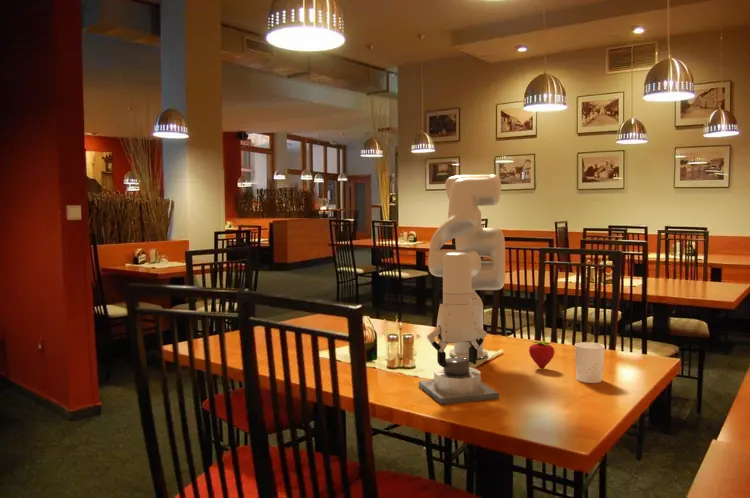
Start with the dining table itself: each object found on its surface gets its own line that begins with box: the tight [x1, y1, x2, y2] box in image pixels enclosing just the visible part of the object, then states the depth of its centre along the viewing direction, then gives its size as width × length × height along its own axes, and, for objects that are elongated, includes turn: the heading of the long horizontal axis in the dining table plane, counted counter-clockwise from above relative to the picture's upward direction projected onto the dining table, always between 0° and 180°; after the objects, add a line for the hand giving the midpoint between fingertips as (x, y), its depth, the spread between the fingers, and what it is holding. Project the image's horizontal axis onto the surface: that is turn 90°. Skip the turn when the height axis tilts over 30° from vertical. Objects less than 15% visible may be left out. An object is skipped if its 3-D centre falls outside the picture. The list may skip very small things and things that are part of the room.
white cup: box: [574, 341, 605, 384], centre depth 168 cm, size 8×8×10 cm
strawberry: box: [528, 337, 555, 369], centre depth 181 cm, size 6×8×10 cm
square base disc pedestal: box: [418, 366, 500, 405], centre depth 158 cm, size 16×16×6 cm
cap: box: [443, 357, 470, 375], centre depth 158 cm, size 7×7×7 cm
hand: (457, 364), depth 158 cm, fingers open, 8 cm apart
